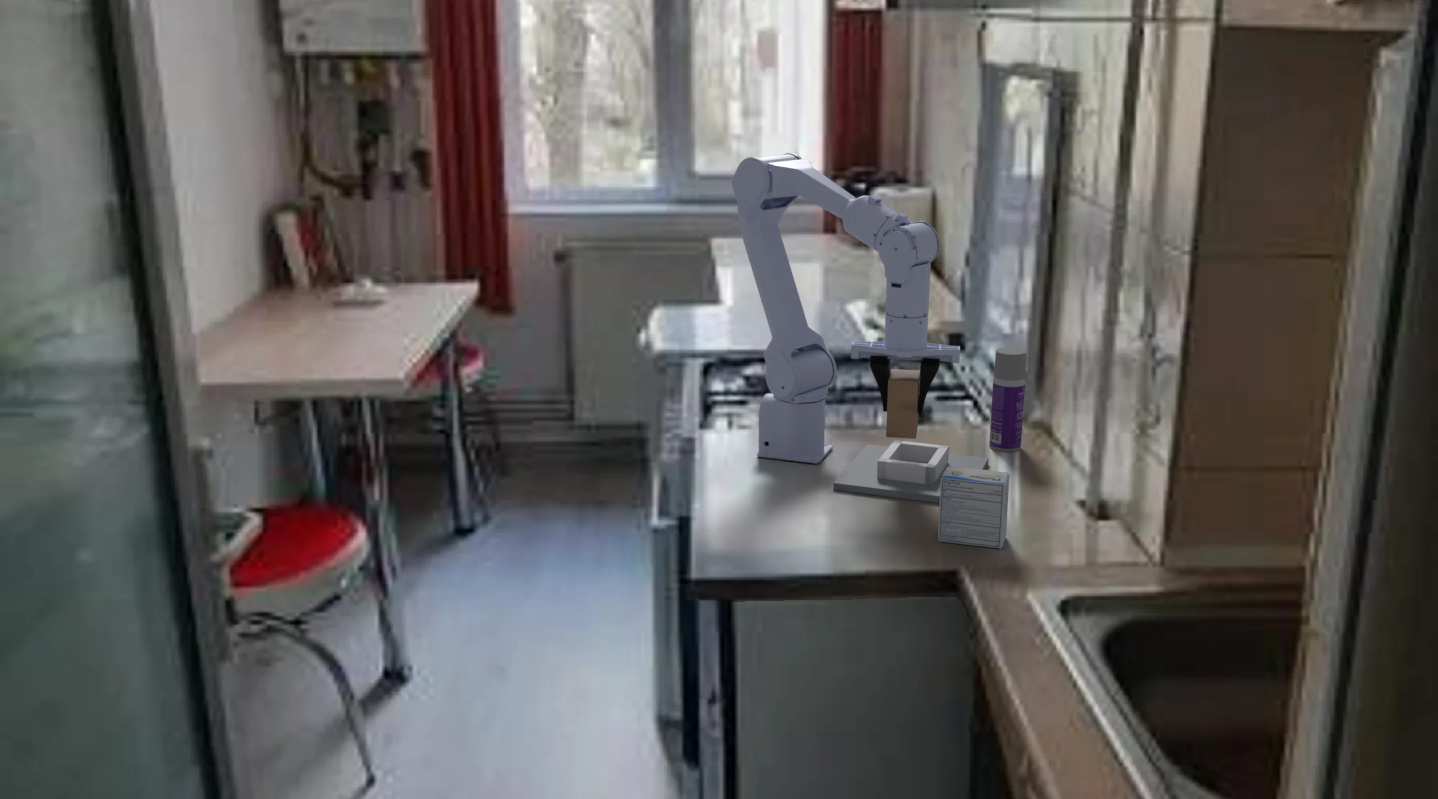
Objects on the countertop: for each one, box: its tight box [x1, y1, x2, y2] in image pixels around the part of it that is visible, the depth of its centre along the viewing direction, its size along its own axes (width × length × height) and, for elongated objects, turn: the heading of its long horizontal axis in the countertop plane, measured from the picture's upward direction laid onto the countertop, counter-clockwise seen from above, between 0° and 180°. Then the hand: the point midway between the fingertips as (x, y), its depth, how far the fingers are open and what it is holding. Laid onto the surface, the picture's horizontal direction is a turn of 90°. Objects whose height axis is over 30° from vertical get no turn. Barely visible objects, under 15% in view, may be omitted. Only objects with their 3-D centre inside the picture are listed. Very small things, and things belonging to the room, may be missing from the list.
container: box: [988, 346, 1027, 453], centre depth 190 cm, size 5×5×15 cm
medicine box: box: [937, 467, 1011, 550], centre depth 156 cm, size 8×4×9 cm, turn 71°
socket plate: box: [833, 439, 989, 504], centre depth 179 cm, size 18×18×4 cm
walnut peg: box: [885, 368, 920, 440], centre depth 174 cm, size 6×4×8 cm, turn 169°
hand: (903, 410), depth 174 cm, fingers closed on walnut peg, 4 cm apart
